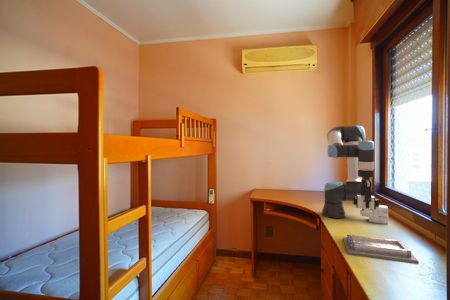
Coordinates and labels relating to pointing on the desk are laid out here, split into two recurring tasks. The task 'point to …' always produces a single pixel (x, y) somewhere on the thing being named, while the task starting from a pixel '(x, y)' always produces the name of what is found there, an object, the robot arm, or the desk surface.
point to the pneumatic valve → (360, 204)
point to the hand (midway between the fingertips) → (365, 212)
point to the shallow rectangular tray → (378, 245)
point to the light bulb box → (379, 215)
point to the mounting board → (379, 254)
